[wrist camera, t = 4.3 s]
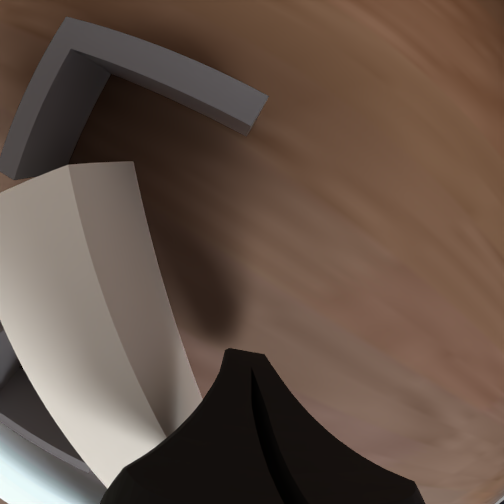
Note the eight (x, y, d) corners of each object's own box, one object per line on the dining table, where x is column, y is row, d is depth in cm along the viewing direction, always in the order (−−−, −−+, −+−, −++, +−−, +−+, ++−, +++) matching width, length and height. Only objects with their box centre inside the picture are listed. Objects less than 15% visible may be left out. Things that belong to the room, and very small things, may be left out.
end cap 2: (258, 114, 9) (268, 96, 6) (191, 239, 10) (175, 269, 7) (105, 47, 8) (66, 16, 5) (48, 164, 9) (-4, 169, 6)
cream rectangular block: (134, 161, 10) (68, 164, 5) (217, 434, 13) (215, 514, 9) (49, 188, 10) (-35, 210, 5) (148, 439, 13) (130, 512, 9)
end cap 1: (130, 369, 12) (109, 419, 9) (106, 428, 13) (88, 473, 10) (13, 300, 11) (-28, 332, 8) (6, 369, 12) (-23, 404, 9)
